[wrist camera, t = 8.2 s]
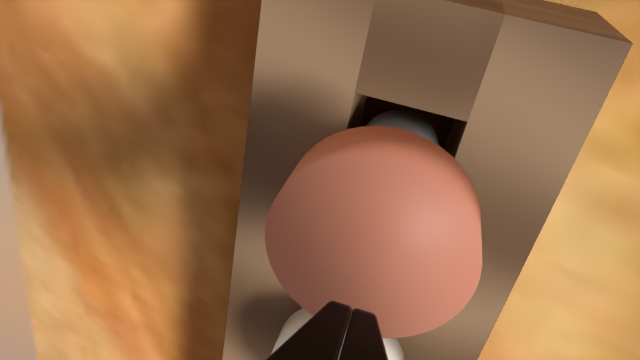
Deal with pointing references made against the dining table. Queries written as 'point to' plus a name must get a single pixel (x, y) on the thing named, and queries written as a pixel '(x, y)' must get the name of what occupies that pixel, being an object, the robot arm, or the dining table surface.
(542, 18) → the button block
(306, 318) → the button
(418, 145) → the red button
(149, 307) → the dining table surface
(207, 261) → the dining table surface
